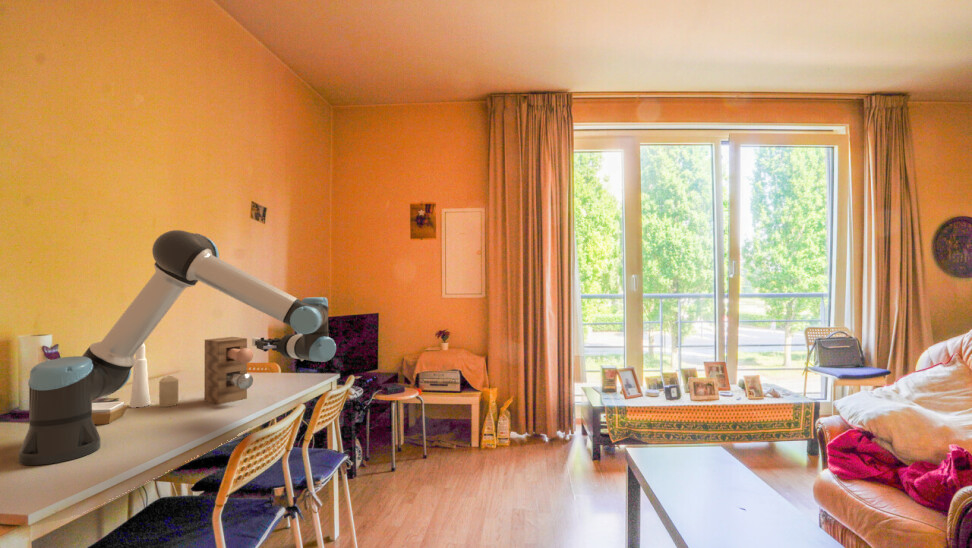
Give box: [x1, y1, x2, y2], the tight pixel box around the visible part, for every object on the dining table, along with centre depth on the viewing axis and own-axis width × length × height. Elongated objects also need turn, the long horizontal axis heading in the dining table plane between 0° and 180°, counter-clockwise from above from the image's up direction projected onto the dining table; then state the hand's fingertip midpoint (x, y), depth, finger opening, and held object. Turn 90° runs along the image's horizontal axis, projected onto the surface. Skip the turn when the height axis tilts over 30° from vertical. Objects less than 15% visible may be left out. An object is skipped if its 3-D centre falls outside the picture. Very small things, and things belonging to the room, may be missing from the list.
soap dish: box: [92, 401, 129, 425], centre depth 143 cm, size 12×10×5 cm
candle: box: [158, 375, 179, 408], centre depth 162 cm, size 6×6×10 cm
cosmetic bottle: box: [128, 342, 152, 409], centre depth 161 cm, size 6×6×22 cm
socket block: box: [203, 336, 248, 405], centre depth 169 cm, size 10×10×22 cm
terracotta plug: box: [226, 347, 254, 364], centre depth 165 cm, size 11×5×5 cm, turn 57°
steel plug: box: [226, 373, 254, 390], centre depth 165 cm, size 11×5×5 cm, turn 57°
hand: (254, 341), depth 160 cm, fingers closed
